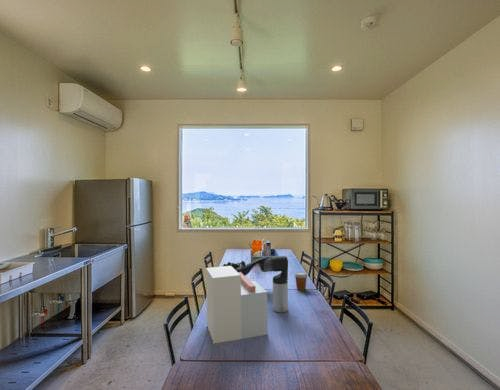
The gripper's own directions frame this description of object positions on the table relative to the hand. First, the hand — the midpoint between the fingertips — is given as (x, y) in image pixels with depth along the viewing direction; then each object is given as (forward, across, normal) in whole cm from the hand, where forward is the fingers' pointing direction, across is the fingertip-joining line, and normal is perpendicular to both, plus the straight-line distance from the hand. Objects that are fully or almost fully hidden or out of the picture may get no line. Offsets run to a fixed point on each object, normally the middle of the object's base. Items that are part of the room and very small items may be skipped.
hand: (236, 262), depth 183 cm
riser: (+9, -8, +39) cm, 41 cm away
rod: (+15, -1, +17) cm, 22 cm away
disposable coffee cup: (-31, +55, +15) cm, 65 cm away
